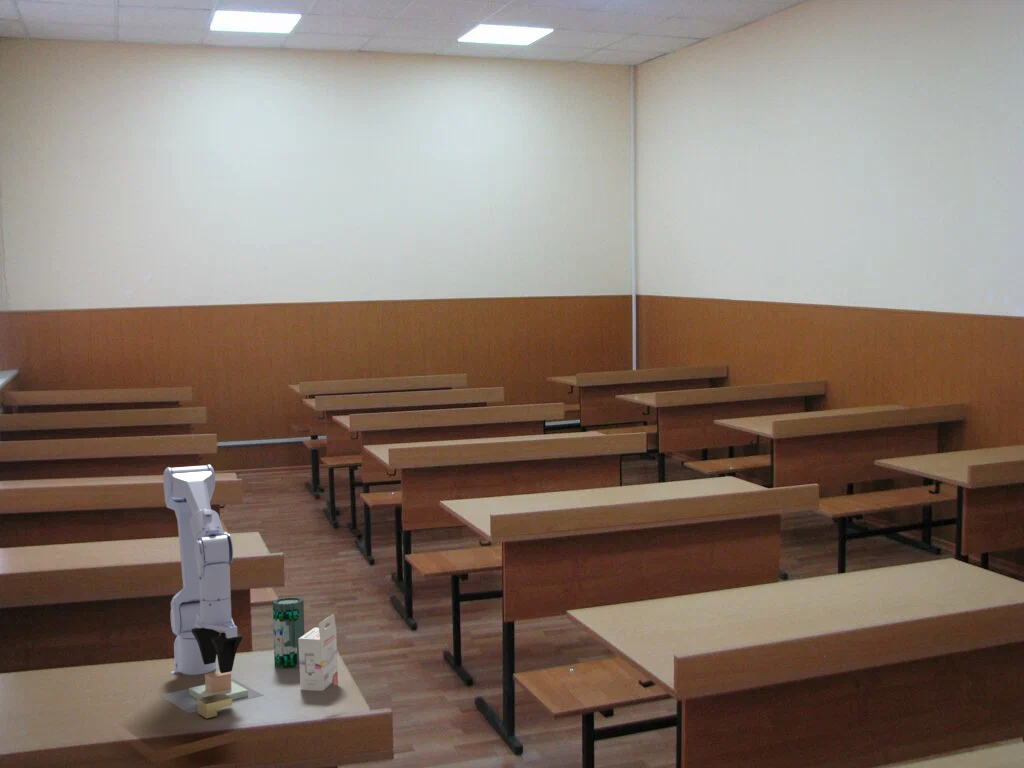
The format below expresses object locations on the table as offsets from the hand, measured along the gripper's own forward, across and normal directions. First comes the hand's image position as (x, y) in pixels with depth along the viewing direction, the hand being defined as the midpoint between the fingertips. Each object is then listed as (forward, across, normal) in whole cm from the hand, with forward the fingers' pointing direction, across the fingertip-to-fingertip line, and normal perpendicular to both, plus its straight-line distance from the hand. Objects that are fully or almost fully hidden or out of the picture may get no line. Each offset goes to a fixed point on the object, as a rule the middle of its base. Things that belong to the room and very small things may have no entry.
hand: (217, 667), depth 208 cm
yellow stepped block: (+5, +10, -5) cm, 12 cm away
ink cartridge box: (+7, +7, +18) cm, 21 cm away
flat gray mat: (+7, -1, -1) cm, 7 cm away
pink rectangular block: (+5, 0, 0) cm, 5 cm away
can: (+7, -9, +20) cm, 23 cm away
